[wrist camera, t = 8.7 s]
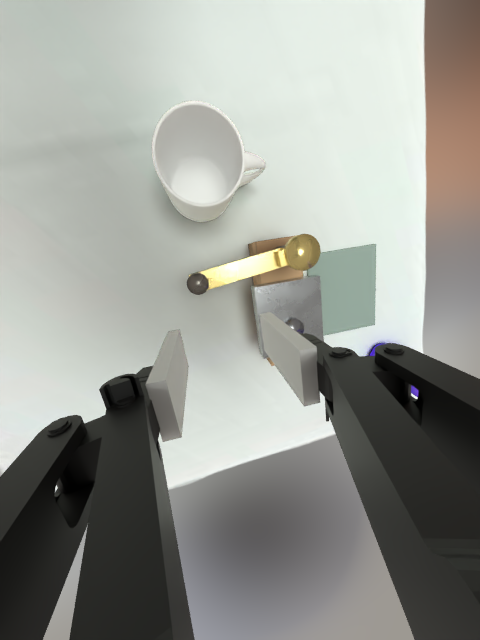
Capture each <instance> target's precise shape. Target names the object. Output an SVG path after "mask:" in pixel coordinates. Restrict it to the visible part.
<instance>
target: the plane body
mask: <svg viewBox="0 0 480 640" xmlns="http://www.w3.org/2000/svg"><path fill="white" fill-rule="evenodd" d="M292 237H294V236H291V237H284V238H278V239H271V240H265V241H258V242H254V243H251V244H248V245H249V253H250V256H253V255H256V254H260V253H263V252H266V251H270V250H273V249H276V248H283V249H284V247H285V245H286V243H287V242H288V240H289V239H291V238H292ZM298 277H303V271H301V270H294V269H292V268H290V267H289V266H288V265H286V266H284V267H280V268H277V269H274V270H271V271H267V272H264V273H261V274H258V275H254V276H253V283H254V285H259V284H264V283H270V282H276V281H281V280H287V279H292V278H298ZM267 360H268V361H269V363H270V364H271V366H274V363H273V362H272V360H271V359H270V358H267Z"/></svg>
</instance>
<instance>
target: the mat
mask: <svg viewBox="0 0 480 640" xmlns="http://www.w3.org/2000/svg"><path fill="white" fill-rule="evenodd" d="M309 275H318V276H320V281H321V301H322V320H323V336H324V335H329V334H334V333H338V332H343V331H348V330H352V329H357V328H362V327H367V326H371V325H375V282H376V244H372V245H366V246H360V247H354V248H348V249H341V250H335V251H329V252H323V253H320V257H319V260H318V262H317V263H316V264H315V265H314V266H313V267H312V268H310V269H308V270H307V276H309Z"/></svg>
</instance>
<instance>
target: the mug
mask: <svg viewBox="0 0 480 640" xmlns="http://www.w3.org/2000/svg"><path fill="white" fill-rule="evenodd" d="M152 158H153V163H154V167H155V170H156V172H157V175H158V177H159V179H160V181H161V183H162V185H163V187H164V189H165V191H166V193H167V195H168V197H169V199H170V201H171V202H172V204H173V206H174V207H175V208H176V209H177V210H178V212H179V213H181V214H182V215H183V216H185V217H186V218H188V219H190V220H193V221H197V222H207V221H211V220H214V219H216V218H217V217H219V216H220V215H221V214H222V213H223V212H224V211H225V210H226V208H227V207H228V205H229V203H230V201H231V200H232V198H233V196H234V194H235V192H236V190H237V188H239V187H241V186H243V185H245V184H247V183H249V182H250V181H252V180H254V179H255V178H256V177H258V176H259V175H260V174H261V173H262V172H263V171H264V170H265V168H266V163H265V161H264V160H263V159H262V158H261V157H260V156H258V155H256V154H253V153H250V152H247V151H245V150H244V145H243V142H242V138H241V136H240V134H239V132H238V130H237V128H236V126H235V125H234V123H233V122H232V121H231V119H230V118H229V117H228V116H227V115H226V114H225V113H224V112H222V111H221V110H220V109H218V108H217V107H215V106H213V105H211V104H208V103H205V102H201V101H186V102H182V103H179V104H177V105H175V106H173V107H172V108H170V109H169V110H168V111H167V112H166V113H165V114H164V115H163V116H162V117H161V119H160V120H159V122H158V124H157V126H156V128H155V131H154V134H153V139H152ZM258 168H261V169H260V170H258V171H256V172H253V173H245V174H244V172H245V171H248V170H252V169H258Z"/></svg>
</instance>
